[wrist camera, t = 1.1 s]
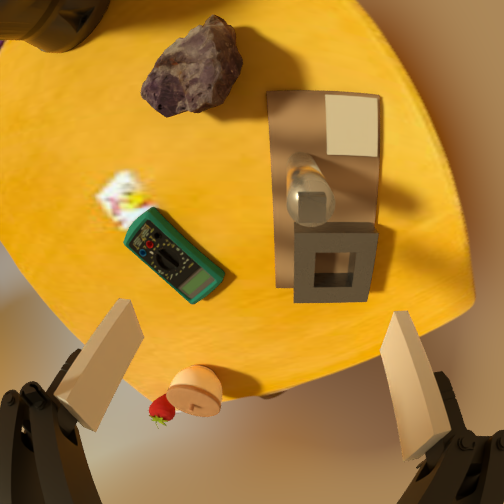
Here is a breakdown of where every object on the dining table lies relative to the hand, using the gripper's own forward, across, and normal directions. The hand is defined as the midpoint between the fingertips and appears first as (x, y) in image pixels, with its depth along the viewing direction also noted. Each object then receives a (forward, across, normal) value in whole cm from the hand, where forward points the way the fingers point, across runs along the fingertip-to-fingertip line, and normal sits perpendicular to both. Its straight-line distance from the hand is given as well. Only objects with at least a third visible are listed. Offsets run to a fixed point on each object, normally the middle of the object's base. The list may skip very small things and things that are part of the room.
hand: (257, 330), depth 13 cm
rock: (+24, -8, +15) cm, 29 cm away
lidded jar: (+24, -15, -37) cm, 46 cm away
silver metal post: (+23, +3, +3) cm, 23 cm away
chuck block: (+23, +7, -8) cm, 25 cm away
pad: (+23, +9, +8) cm, 26 cm away
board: (+23, +6, -1) cm, 24 cm away
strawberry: (+24, -25, -49) cm, 60 cm away
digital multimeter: (+24, -15, -9) cm, 30 cm away
